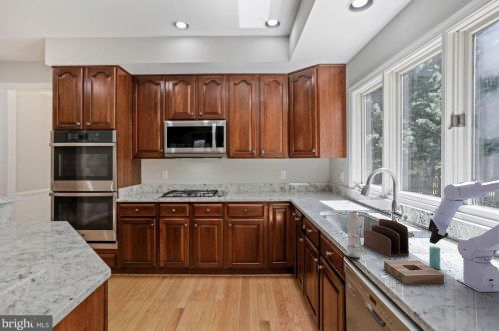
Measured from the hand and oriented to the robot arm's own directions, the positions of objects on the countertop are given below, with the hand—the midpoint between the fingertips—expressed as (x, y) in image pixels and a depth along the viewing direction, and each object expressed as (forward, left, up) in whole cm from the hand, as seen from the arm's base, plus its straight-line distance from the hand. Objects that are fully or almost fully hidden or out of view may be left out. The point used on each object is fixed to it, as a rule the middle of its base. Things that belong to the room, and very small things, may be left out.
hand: (431, 236), depth 114 cm
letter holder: (+20, +8, -12) cm, 25 cm away
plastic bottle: (+11, +28, -12) cm, 32 cm away
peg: (-3, +1, -12) cm, 12 cm away
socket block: (-10, +15, -12) cm, 21 cm away
